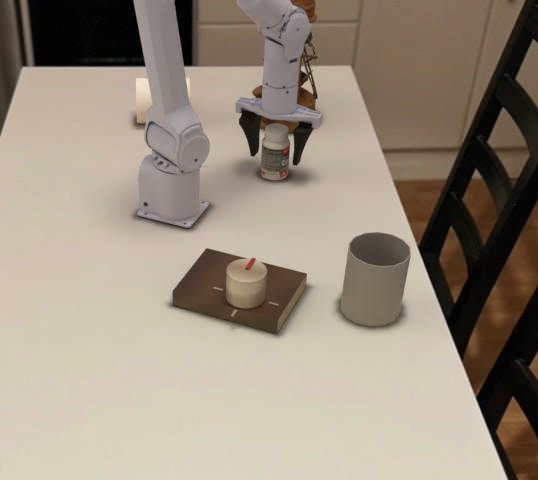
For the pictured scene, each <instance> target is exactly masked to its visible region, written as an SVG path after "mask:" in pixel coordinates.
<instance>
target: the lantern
mask: <svg viewBox="0 0 538 480" xmlns="http://www.w3.org/2000/svg"><path fill="white" fill-rule="evenodd" d="M290 1H291V3H292V5H294V6H296V7H298V8H301V9H303V10H304V11H305V12H306V14H307V16H308V20H309V23H310V24H312V23H314V22H316V21H317V19H318V15H317V14H316V0H290ZM312 40H313V33H312V31H310V33H309V36H308V38H307V39H306V41H305V43H304V50H303V52H302V55H301V56H300V66H299V79H298V91H297V104H299V105H301V106H303V107H306V108H308V109H311V110H313V111H317V109H316V101H317V100H318V96H319V95H318V91H317V87H316V83H315V79H314V75H313V72H314V69H312V68H311V67H312V66H311V63H310V61H312V60H314V64H315V65H317V64H316V62H317V61H316V60H317V59H318V58H319V56H318V55H316V54H317V52H316V48H315V46H314V44H313V43H312ZM306 44H307V46H308V47H309V48H310V47H311V49H312V50H311V51H312V54H308V52H307V47H306ZM302 61H303V62H302ZM262 62H264V57H263V58H262ZM303 65H304V69H305V71H303V70H302V66H303ZM308 81H309V82H310V85H311V89H312V92H311V91H309V90H307V88H304V87H303V86H304V84H305V83H307V82H308ZM251 94H252V96H254V98H262V84H261V85H258V86H256V87H255V88H254V89H252V91H251ZM275 123H278V124H283V125H285V126H287V127H288V129H289V134H290V133H293V130H294V129H295V128H296V127H297V126H298V125H299V123H296V122H291V121H286V120H273V119H269V118H266V117H264V116H262V119H261V125H260V129H262V130H265V127H266V126H267V125H269V124H275Z"/></svg>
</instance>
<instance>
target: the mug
mask: <svg viewBox="0 0 538 480" xmlns="http://www.w3.org/2000/svg"><path fill="white" fill-rule="evenodd" d="M186 82H187V89H188V96H189V102H190V105H191V106H192V94H191V93H192V92H191V91H192V90H191V77H189V76H186ZM152 105H153V103H152V98H151V92H150V87H149V82H148V77H136V78H135V111H136V122H137V124H146V117H145V112H146V110H147V109H148V108H149V107H150V106H152Z"/></svg>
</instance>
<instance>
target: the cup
mask: <svg viewBox="0 0 538 480" xmlns="http://www.w3.org/2000/svg"><path fill="white" fill-rule="evenodd" d="M411 257H412V252H411V246H410V245H409V244H408V243H407V242H406V241H405V240H404V239H402V238H400V237H398V236H396V235H394V234H392V233H386V232H382V231H374V232H373V231H372V232H364V233H361V234H357V235H355V236H354V237H353V238H352V239H351V240H350V242H349V243H348V248H347V253H346V262H345V269H344V276H343V283H342V291H341V297H340V311H341V313H342V314H343V315H344V316H345V318H346V319H347V320H350V321H352V323H353V322H354V323H355V324H357V325H361V326H366V327H382V326H383V327H384V326H386V325H388V324H391V323H393V322H395V321H396V319H397V318H398V317H399V315H400V313H401V307H402V303H403V299H404V293H405V287H406V283H407V278H408V273H409V266H410V262H411Z"/></svg>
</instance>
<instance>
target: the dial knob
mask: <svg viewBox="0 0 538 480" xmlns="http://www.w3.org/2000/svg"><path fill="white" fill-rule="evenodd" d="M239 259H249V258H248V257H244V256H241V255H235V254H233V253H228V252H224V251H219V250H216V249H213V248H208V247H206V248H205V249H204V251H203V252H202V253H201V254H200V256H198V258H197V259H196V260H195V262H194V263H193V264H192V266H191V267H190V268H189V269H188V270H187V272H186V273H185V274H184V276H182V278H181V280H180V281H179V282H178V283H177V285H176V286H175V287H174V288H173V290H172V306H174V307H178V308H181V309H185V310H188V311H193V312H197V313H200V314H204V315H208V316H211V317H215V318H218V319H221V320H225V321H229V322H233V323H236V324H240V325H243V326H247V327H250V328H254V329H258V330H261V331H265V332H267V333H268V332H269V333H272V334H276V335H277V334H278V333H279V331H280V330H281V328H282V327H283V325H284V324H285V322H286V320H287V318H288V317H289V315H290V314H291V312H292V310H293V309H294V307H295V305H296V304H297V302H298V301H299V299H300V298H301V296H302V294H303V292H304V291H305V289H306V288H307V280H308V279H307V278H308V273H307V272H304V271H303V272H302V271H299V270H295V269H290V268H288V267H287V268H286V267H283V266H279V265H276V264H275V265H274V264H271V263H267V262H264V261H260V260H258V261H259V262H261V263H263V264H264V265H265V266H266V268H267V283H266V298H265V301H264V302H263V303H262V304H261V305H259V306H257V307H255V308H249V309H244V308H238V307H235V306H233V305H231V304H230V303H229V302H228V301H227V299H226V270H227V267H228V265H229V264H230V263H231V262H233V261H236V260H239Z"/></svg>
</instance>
